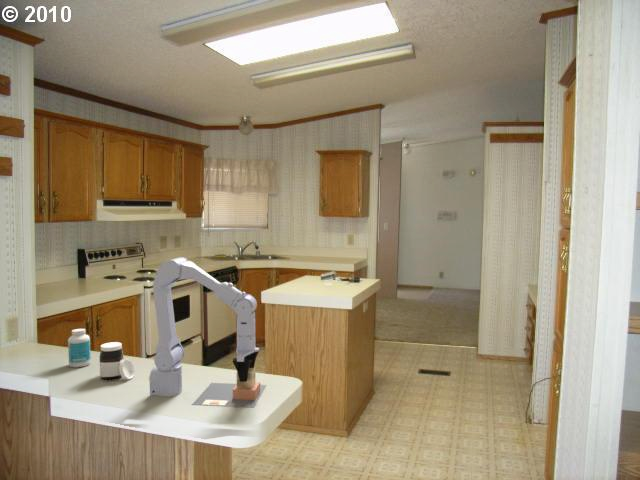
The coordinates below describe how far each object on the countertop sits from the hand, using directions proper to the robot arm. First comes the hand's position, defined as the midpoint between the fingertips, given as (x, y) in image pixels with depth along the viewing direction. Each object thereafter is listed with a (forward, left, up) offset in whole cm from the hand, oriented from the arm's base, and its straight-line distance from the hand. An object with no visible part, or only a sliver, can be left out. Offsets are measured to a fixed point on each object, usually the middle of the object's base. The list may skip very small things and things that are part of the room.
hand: (246, 377), depth 152 cm
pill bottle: (-71, +24, -7) cm, 75 cm away
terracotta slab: (0, 0, -6) cm, 6 cm away
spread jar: (-50, +13, -7) cm, 52 cm away
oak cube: (0, 0, -3) cm, 3 cm away
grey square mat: (-5, 0, -7) cm, 8 cm away
